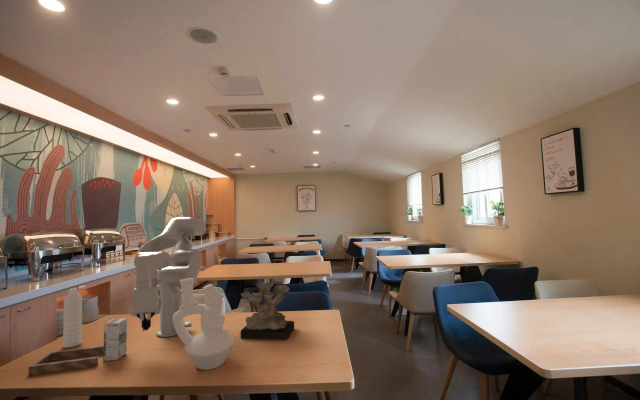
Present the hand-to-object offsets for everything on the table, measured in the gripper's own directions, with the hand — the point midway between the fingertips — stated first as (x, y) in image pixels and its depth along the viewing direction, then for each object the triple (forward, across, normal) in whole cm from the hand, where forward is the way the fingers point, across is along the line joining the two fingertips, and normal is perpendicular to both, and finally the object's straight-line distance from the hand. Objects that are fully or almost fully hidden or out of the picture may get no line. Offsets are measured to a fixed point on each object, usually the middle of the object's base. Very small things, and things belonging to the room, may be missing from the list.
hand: (146, 329), depth 123 cm
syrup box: (+10, +11, 0) cm, 15 cm away
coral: (+10, -50, -7) cm, 51 cm away
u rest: (+10, +25, -1) cm, 27 cm away
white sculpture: (+10, -24, +18) cm, 32 cm away
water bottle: (+10, +35, -23) cm, 43 cm away
